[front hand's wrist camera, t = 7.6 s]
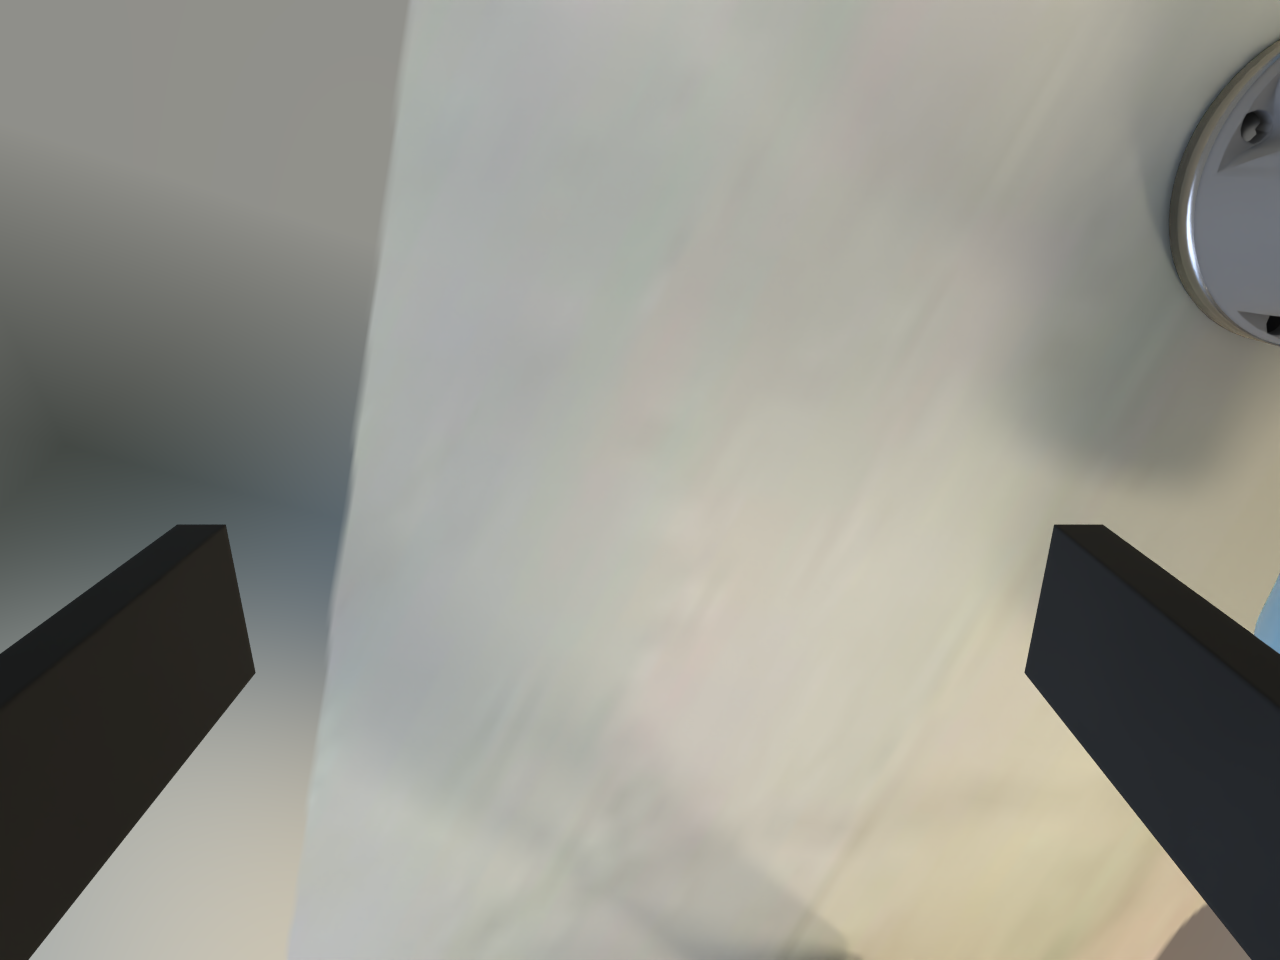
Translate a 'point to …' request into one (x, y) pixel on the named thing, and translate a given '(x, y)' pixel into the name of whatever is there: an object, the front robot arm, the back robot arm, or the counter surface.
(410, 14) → the counter surface
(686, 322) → the counter surface
